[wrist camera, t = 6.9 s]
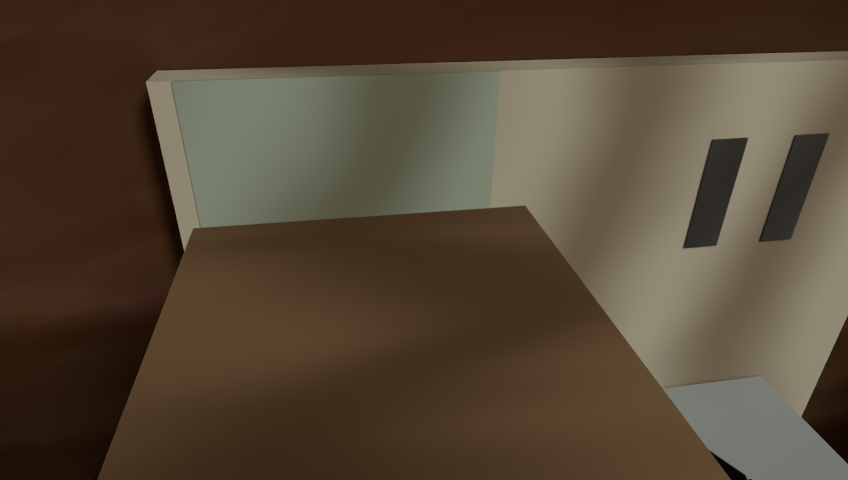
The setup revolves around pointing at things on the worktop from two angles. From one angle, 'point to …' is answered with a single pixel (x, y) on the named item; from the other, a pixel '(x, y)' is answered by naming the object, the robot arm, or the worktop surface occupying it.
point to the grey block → (756, 431)
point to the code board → (566, 181)
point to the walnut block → (394, 361)
